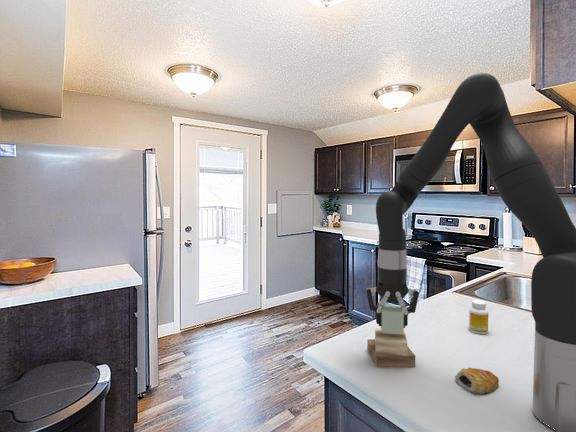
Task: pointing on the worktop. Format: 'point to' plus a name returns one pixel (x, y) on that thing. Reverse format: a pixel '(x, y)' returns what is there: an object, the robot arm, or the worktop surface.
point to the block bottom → (390, 357)
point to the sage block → (392, 319)
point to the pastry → (477, 380)
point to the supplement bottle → (478, 317)
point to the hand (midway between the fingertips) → (391, 325)
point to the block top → (390, 343)
